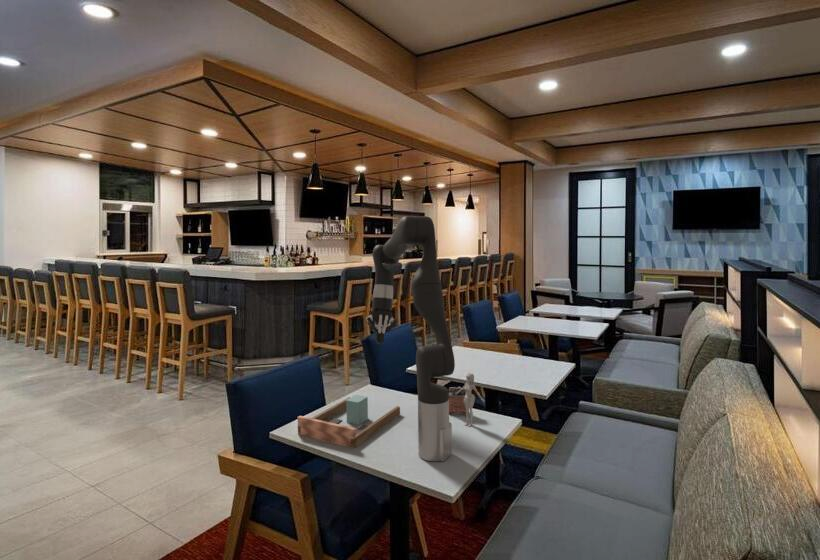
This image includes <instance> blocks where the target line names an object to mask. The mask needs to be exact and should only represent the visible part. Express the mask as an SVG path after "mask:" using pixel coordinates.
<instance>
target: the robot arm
mask: <svg viewBox="0 0 820 560" xmlns="http://www.w3.org/2000/svg"><path fill="white" fill-rule="evenodd" d="M433 221H434V220H433V219H432V218H431V217H430V216H427V215H426V216H425V215H404V216H403V217H402V218H401V219H399V222H398V224H397V225H396V227H395V229H394V231H393V233H392V236H391V237H390V238H389V239H388V240H387V241H386V242H385V243H384V244H376V245H375V246H374V247H373V250H372V259H373V264H374V270H375V271H374V272H375V279H374V288H373V294H372V303H371V304H372V305H371V306H372V307H371V312H370V315H368V316H366V317H364V321H365V322H366V324H367V326H368V328H369V329H370V330H371V332H374V333H375V340H374V341H375V342H376V344H381V345H382V344H383V343H384V339H385V334H386V333H389V332H391V330H392V329H393V327H394V326H395V325H396V324H397V322H398V321H397V319H395V318H394V317H393V314H392V312H393V311H392V310H393V301H394V300H393V299H394V280H395V273H394V272H393V271H392V270H391V269H387V268H385V267H384V265H391V266H394V265H397V264H398V263H399V262H400V260H401V255H403V254H405V252H406V250H407V247H408V245H409V246H411V245H415V246H417V245H418V246H422V258H421V262H420V263H419V266H418V267H417V270H416V271H415V272H414V275H413V278H412V280H411V287H410V288H411V294H412V300H413V301H412V302H413V305H414V308H415V310H416V311H417V312H418V314H419V315H420V316H421V317H422V319H424V320H425V322H426V323H427V324H428V326H429V327H430V329H431V330H432V332H433V335H434V337H435V340H436V343H437V344H433V345H422V346H421V345H420V346H419V347H418V348H417V349H416V352H415V353H416V354H415V366H416V367H415V369H416V387H417V388H416V389H417V424H418V425H417V426H418V428H417V432H418V433H417V434H418V435H417V437H418V440H417V443H418V444H417V445H418V447H417V449H418V456H419V457H420V459H422V460H423V461H424V460H425V461H429V462H446V460H447V459H448V457H450V456H451V454H452V453H453V451H452V450H453V449H452V448H453V445H452V444H453V443H452V440H453V439H452V438H453V437H452V435H453V434H452V432H453V429H452V425H453V424H452V422H450V415H449V393H450V391H449V388H447V387H446V386H444V385H442V384H437V383H435V382H434V383H433V382H432V381H431V378H438V377H445V376H446V377H447V376H452V375H453V373H454V372H455V367H456V366H455V365H456V363H455V353H454V350H453V345H452V340H451V338H450V333H449V327H448V323H447V317H446V309H445V303H444V302H445V301H444V296H443V288H442V282H441V278H440V277H441V276H440V273H439V272H440V271H439V265H438V256H437V244H436V242H437V241H436V231H435V225H434V222H433ZM383 264H384V265H383Z"/></svg>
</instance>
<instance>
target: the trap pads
mask: <svg viewBox="0 0 820 560" xmlns="http://www.w3.org/2000/svg"><path fill="white" fill-rule="evenodd" d="M326 422H330V423H335V424H339V423H341V422H343V420H342V419H339V418H335V417H331V418H329V419H328V420H326ZM368 426H369V425H368V424H367V425H366V424H362V425H361V426H359V427H358V428H356V434H357V433H359V432H360V431H362V430H363V429H365V428H366V427H368Z"/></svg>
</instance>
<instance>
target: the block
mask: <svg viewBox="0 0 820 560" xmlns="http://www.w3.org/2000/svg"><path fill="white" fill-rule="evenodd" d="M348 398H349V397H348ZM368 400H369V399H368V396H365V395H360V394H359V395H358V394H355V395H353V396H351V398H349V399H348V400H346V409H345V410H346V413H345V414H346V423H350V424H353V425H358V426H359V425H360V424H362V423H364V422H365V421H366V420H368V419H369V405H368V403H369V401H368Z"/></svg>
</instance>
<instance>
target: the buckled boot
mask: <svg viewBox="0 0 820 560" xmlns="http://www.w3.org/2000/svg"><path fill="white" fill-rule="evenodd" d="M461 388H462V387H461V386H458V387H455V386H454V387H453V386H452V387H449V388H448V391H449V416H456V417H457V416H458V417H461V416H466V407H465V404H464V397H465V395H466V390H465V389H463V390H461V391H460V392H459V393H458V394H456V393H457V392H458V391H459V390H460V389H461ZM455 394H456V395H455Z"/></svg>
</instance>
